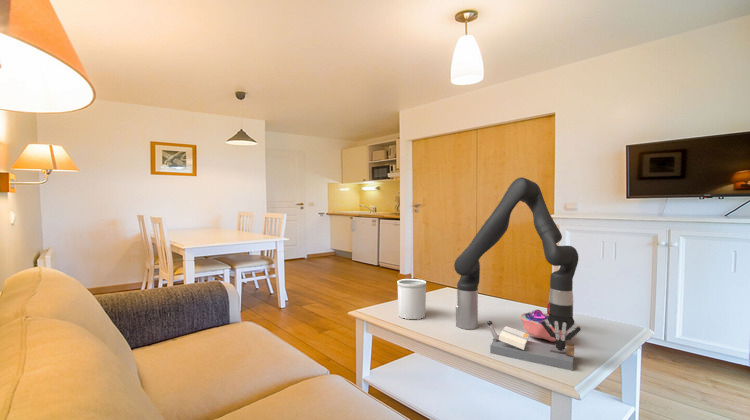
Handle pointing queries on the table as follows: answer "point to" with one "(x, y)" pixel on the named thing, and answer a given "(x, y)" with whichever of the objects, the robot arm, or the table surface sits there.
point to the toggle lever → (492, 330)
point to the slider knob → (570, 349)
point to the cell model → (537, 325)
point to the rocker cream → (512, 340)
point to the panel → (534, 353)
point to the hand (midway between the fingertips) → (560, 349)
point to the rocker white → (516, 333)
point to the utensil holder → (411, 298)
